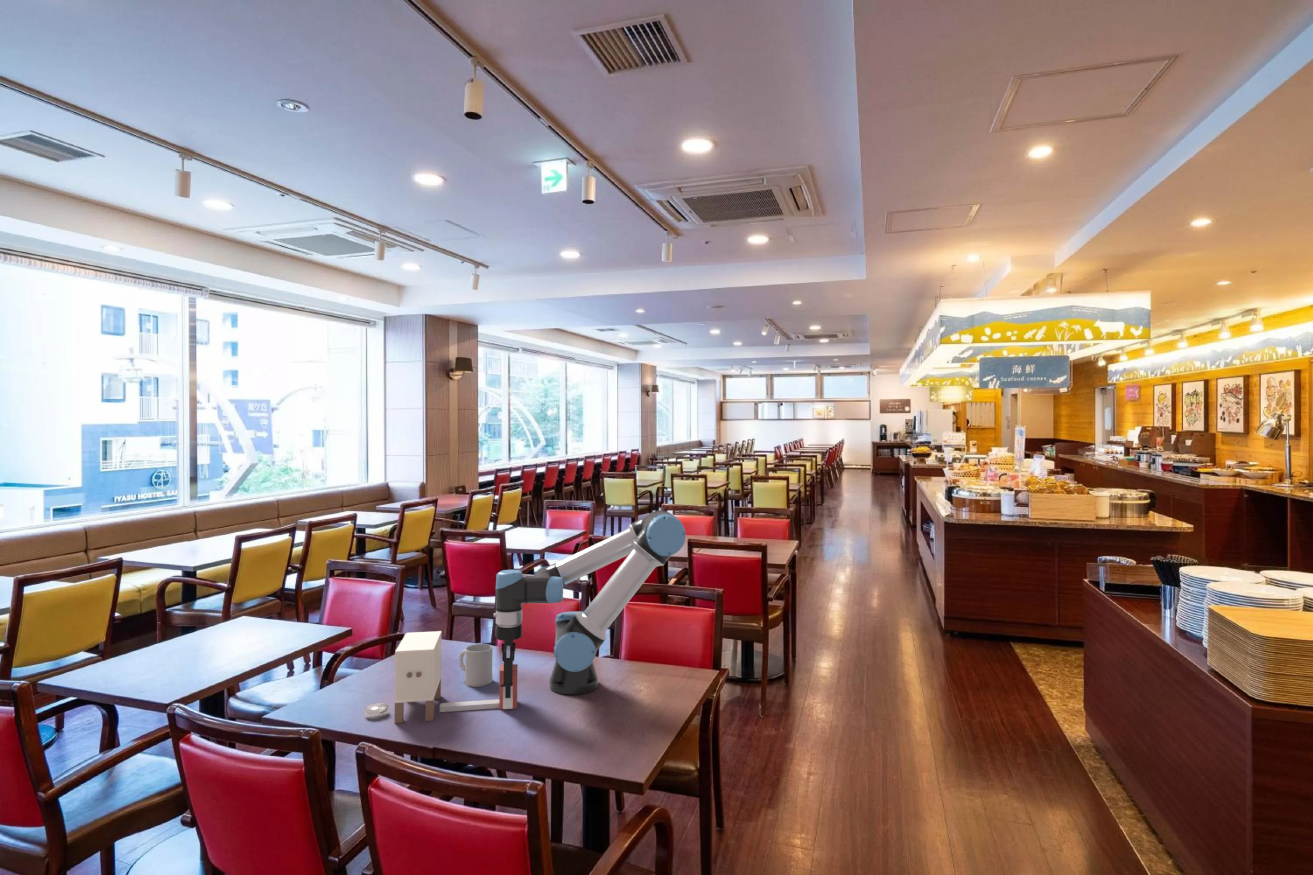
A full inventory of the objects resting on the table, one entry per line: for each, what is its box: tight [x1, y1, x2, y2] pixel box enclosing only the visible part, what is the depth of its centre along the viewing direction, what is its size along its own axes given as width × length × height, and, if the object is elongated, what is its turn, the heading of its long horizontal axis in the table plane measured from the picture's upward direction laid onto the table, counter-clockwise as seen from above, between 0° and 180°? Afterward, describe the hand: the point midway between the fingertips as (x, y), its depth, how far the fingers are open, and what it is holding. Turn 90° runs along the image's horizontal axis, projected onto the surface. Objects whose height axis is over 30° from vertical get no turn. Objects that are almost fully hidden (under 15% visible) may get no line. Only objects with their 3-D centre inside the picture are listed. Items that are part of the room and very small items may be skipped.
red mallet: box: [439, 663, 519, 713], centre depth 192 cm, size 22×5×11 cm, turn 101°
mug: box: [458, 643, 493, 688], centre depth 213 cm, size 12×8×11 cm
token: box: [364, 702, 389, 720], centre depth 186 cm, size 6×6×2 cm
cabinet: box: [394, 630, 442, 724], centre depth 190 cm, size 10×19×20 cm, turn 11°
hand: (508, 702), depth 194 cm, fingers open, 8 cm apart
